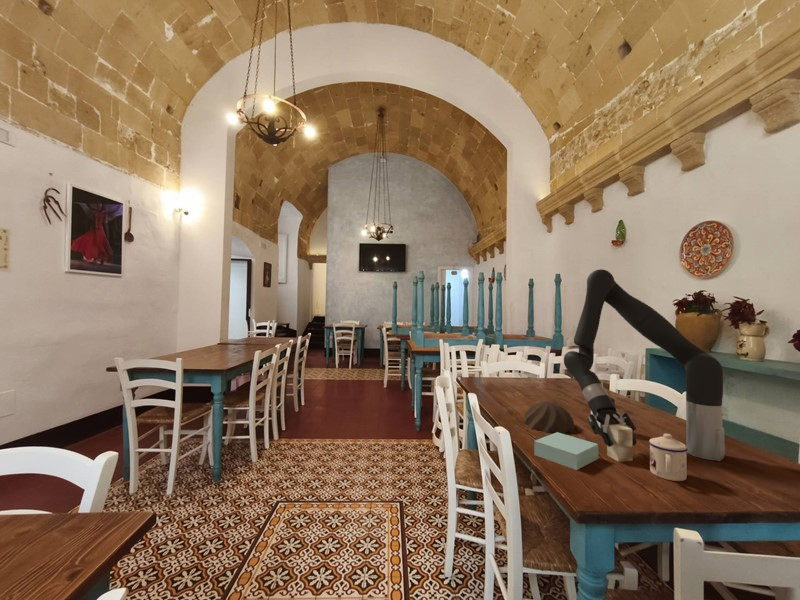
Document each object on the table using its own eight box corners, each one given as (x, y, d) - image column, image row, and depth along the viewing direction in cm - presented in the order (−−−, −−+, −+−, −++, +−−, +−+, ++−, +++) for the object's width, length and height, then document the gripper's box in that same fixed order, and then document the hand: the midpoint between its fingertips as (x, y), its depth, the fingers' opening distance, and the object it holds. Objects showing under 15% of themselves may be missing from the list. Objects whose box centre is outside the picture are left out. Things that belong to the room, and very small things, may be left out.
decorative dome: (519, 428, 147) (519, 403, 147) (529, 416, 164) (529, 393, 164) (572, 437, 137) (572, 410, 138) (576, 423, 154) (576, 399, 155)
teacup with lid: (649, 465, 113) (648, 427, 113) (686, 473, 108) (686, 433, 108) (648, 480, 103) (648, 438, 103) (689, 489, 98) (689, 445, 98)
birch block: (621, 454, 121) (620, 424, 121) (632, 460, 116) (632, 429, 116) (607, 455, 120) (607, 424, 121) (618, 461, 115) (618, 429, 116)
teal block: (598, 459, 118) (598, 444, 118) (576, 471, 109) (576, 454, 109) (557, 446, 129) (556, 432, 129) (534, 456, 120) (534, 440, 120)
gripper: (584, 394, 125) (608, 440, 113) (622, 393, 127) (649, 438, 115) (574, 405, 130) (596, 451, 119) (611, 404, 132) (636, 449, 120)
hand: (622, 445), depth 117 cm, fingers open, 7 cm apart
